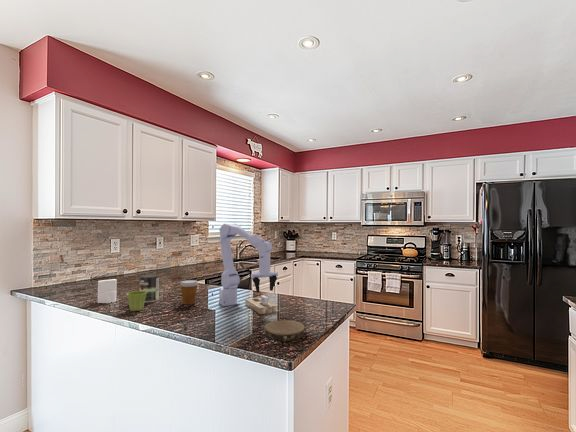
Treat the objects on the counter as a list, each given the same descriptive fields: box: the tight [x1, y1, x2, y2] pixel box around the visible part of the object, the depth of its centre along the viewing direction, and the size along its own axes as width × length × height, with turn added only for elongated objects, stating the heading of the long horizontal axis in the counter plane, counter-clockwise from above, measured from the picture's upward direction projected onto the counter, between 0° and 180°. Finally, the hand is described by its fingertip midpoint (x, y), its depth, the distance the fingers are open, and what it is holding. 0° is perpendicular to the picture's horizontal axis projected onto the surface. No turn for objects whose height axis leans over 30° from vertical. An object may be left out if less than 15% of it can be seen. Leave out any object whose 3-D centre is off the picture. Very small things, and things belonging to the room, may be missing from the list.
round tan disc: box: [264, 319, 305, 342], centre depth 120 cm, size 16×16×3 cm
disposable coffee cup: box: [179, 279, 199, 305], centre depth 166 cm, size 10×10×12 cm
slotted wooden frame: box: [244, 296, 278, 315], centre depth 156 cm, size 9×20×3 cm, turn 29°
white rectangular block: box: [97, 278, 118, 304], centre depth 168 cm, size 9×9×12 cm
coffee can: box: [138, 273, 160, 304], centre depth 171 cm, size 10×10×14 cm
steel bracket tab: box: [260, 295, 269, 307], centre depth 152 cm, size 2×5×7 cm, turn 29°
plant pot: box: [126, 290, 147, 312], centre depth 152 cm, size 9×9×9 cm
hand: (264, 291), depth 154 cm, fingers open, 7 cm apart
